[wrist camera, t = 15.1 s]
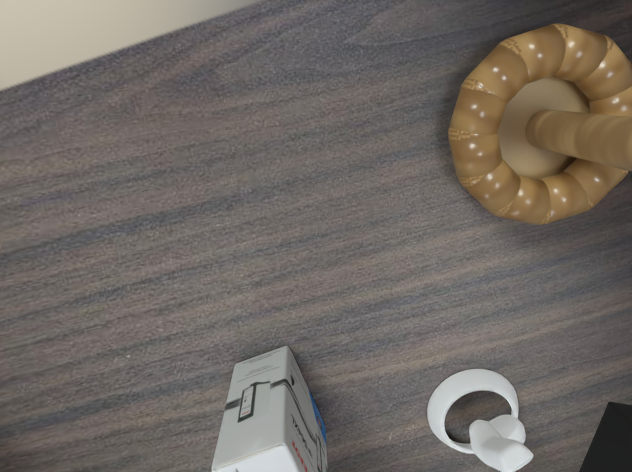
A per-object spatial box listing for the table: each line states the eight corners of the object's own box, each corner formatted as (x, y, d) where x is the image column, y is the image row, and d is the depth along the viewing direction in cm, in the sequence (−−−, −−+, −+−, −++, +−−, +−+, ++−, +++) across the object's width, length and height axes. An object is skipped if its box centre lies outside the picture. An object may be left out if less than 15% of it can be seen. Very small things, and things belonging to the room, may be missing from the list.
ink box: (326, 426, 42) (340, 552, 30) (271, 446, 42) (264, 578, 31) (288, 341, 39) (288, 444, 28) (230, 362, 40) (206, 472, 28)
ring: (477, 8, 31) (495, 0, 29) (654, 54, 33) (689, 51, 30) (422, 196, 35) (434, 206, 32) (585, 231, 36) (610, 244, 33)
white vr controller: (504, 336, 34) (582, 424, 32) (475, 353, 45) (532, 419, 43) (418, 405, 33) (492, 500, 31) (411, 405, 45) (465, 475, 42)
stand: (495, 45, 34) (623, 20, 21) (616, 77, 35) (810, 73, 22) (454, 174, 36) (546, 224, 23) (569, 201, 37) (717, 263, 24)
